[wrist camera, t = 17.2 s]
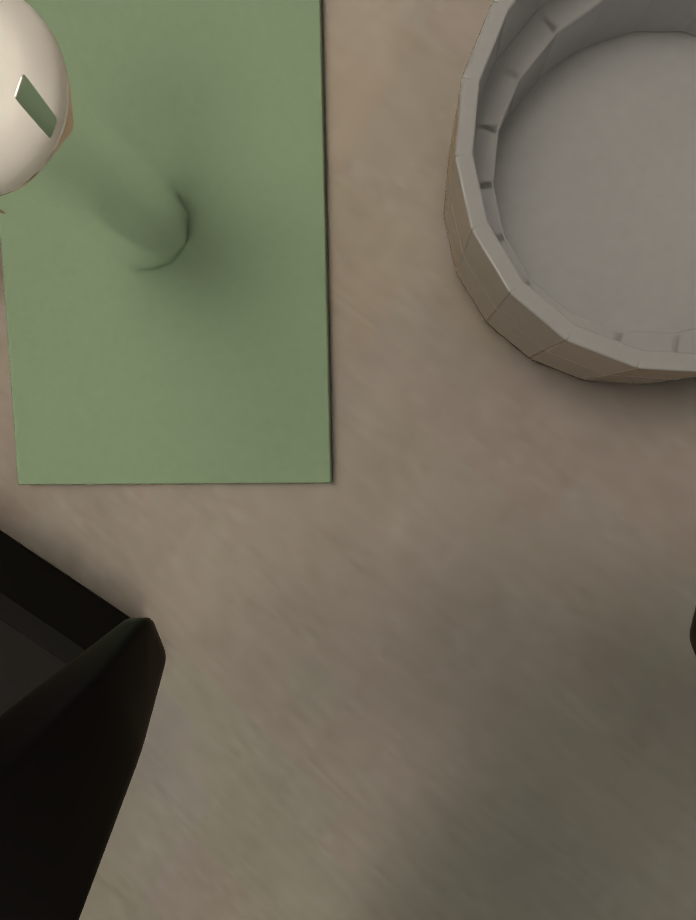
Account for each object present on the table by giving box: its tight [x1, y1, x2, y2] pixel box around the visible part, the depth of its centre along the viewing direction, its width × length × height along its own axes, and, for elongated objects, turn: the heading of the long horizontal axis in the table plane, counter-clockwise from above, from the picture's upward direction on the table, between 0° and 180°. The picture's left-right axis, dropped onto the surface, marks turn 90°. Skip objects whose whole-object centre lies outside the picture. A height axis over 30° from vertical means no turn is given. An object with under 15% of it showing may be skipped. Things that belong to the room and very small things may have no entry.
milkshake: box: [0, 0, 189, 270], centre depth 14 cm, size 4×5×10 cm
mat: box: [0, 0, 332, 485], centre depth 19 cm, size 20×13×1 cm, turn 1°
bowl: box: [444, 0, 696, 384], centre depth 15 cm, size 13×13×4 cm
